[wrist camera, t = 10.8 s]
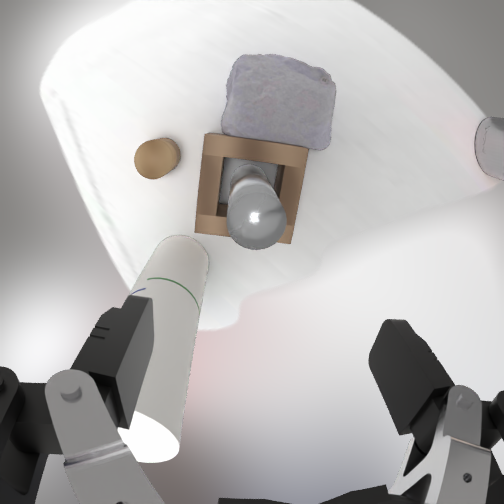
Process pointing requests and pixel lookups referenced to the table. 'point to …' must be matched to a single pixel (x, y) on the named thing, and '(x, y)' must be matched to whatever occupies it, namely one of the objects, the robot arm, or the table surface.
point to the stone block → (279, 101)
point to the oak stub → (157, 158)
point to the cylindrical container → (167, 346)
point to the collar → (285, 155)
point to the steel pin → (254, 209)
